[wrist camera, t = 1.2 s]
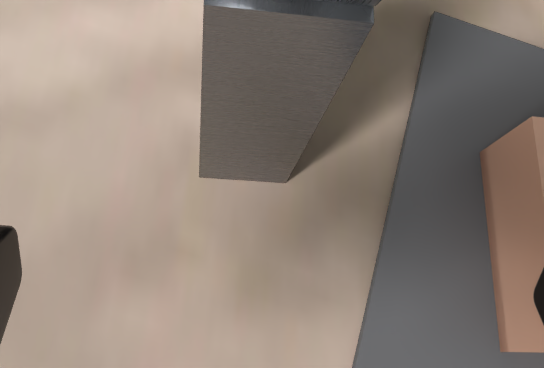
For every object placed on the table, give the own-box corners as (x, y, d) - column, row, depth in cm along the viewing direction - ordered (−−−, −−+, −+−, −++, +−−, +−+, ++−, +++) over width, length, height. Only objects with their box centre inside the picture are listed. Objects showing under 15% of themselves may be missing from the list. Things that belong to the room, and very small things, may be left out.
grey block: (285, 182, 23) (414, -51, 10) (198, 177, 23) (205, -78, 9) (286, 113, 24) (405, -189, 11) (204, 105, 24) (217, -219, 10)
